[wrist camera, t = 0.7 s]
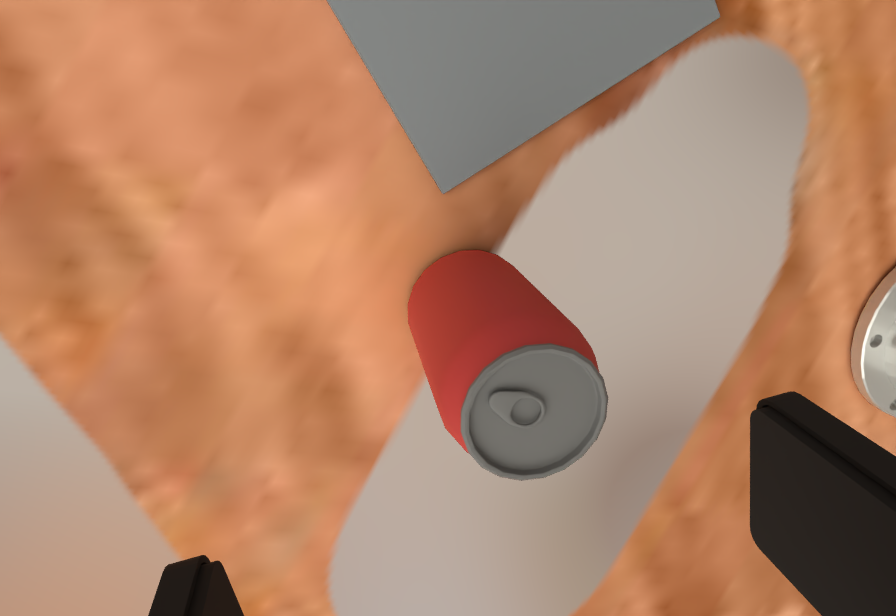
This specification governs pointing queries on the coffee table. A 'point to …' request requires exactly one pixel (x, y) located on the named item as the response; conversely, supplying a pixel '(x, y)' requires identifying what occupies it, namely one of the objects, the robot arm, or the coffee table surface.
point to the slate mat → (503, 65)
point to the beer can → (505, 367)
